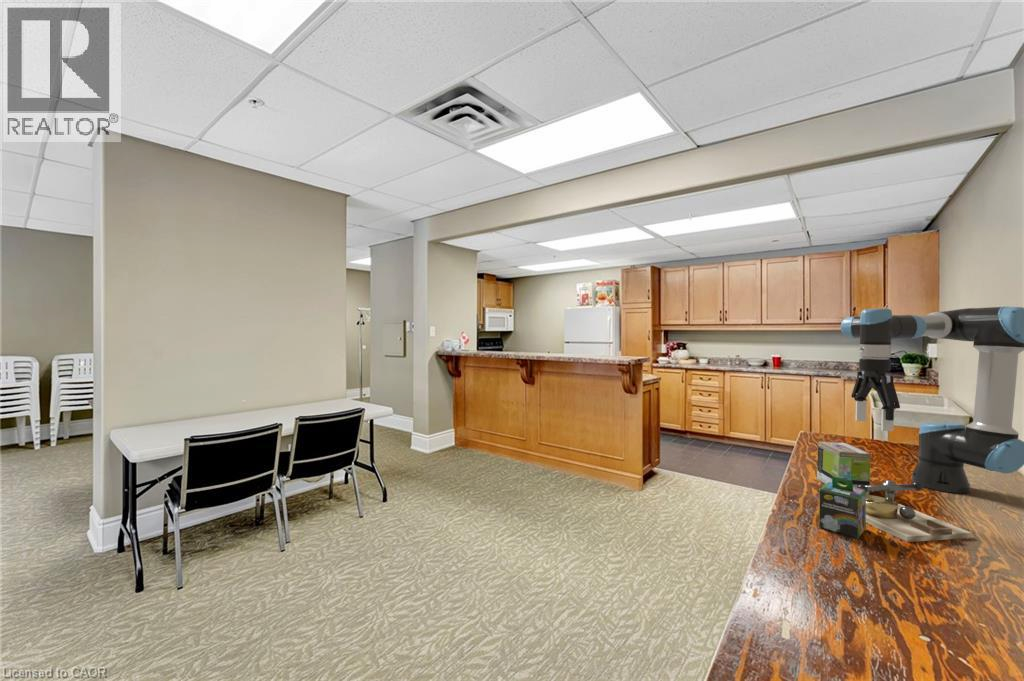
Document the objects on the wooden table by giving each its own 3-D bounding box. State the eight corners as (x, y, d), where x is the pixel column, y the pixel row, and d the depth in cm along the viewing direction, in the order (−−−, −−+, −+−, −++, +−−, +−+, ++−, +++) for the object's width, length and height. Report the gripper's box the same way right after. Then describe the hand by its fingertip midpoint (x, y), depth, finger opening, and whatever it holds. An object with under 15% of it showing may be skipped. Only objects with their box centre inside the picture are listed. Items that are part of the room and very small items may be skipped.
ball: (906, 515, 126) (906, 504, 126) (918, 521, 122) (919, 509, 122) (895, 516, 125) (896, 504, 125) (908, 521, 122) (908, 509, 122)
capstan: (904, 503, 135) (905, 474, 135) (936, 515, 126) (937, 485, 126) (844, 506, 132) (844, 477, 132) (871, 519, 123) (872, 488, 123)
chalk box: (866, 529, 121) (867, 478, 120) (858, 540, 115) (860, 485, 115) (826, 518, 128) (828, 469, 128) (817, 527, 122) (819, 476, 122)
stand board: (899, 508, 135) (899, 499, 135) (972, 538, 116) (972, 527, 116) (843, 511, 133) (843, 502, 133) (908, 542, 114) (908, 531, 113)
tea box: (870, 496, 145) (872, 453, 145) (837, 493, 147) (838, 451, 147) (845, 480, 160) (846, 441, 160) (815, 478, 162) (816, 440, 162)
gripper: (839, 355, 146) (838, 416, 147) (886, 361, 122) (884, 434, 122) (865, 355, 144) (863, 417, 145) (917, 361, 120) (915, 436, 121)
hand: (873, 425), depth 134 cm, fingers open, 13 cm apart
